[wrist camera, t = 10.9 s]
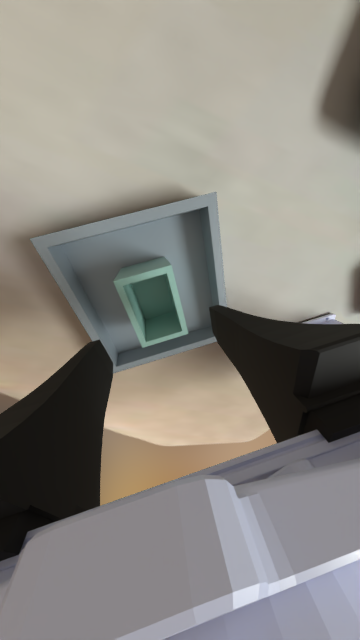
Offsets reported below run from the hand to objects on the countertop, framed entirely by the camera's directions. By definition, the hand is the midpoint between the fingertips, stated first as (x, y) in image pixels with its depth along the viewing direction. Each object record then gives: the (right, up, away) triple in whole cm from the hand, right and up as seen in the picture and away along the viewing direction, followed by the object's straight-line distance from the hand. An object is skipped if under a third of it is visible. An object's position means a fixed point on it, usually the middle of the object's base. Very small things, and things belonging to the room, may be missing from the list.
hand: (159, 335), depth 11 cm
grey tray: (-2, +4, +8) cm, 9 cm away
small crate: (-2, +4, +8) cm, 9 cm away
